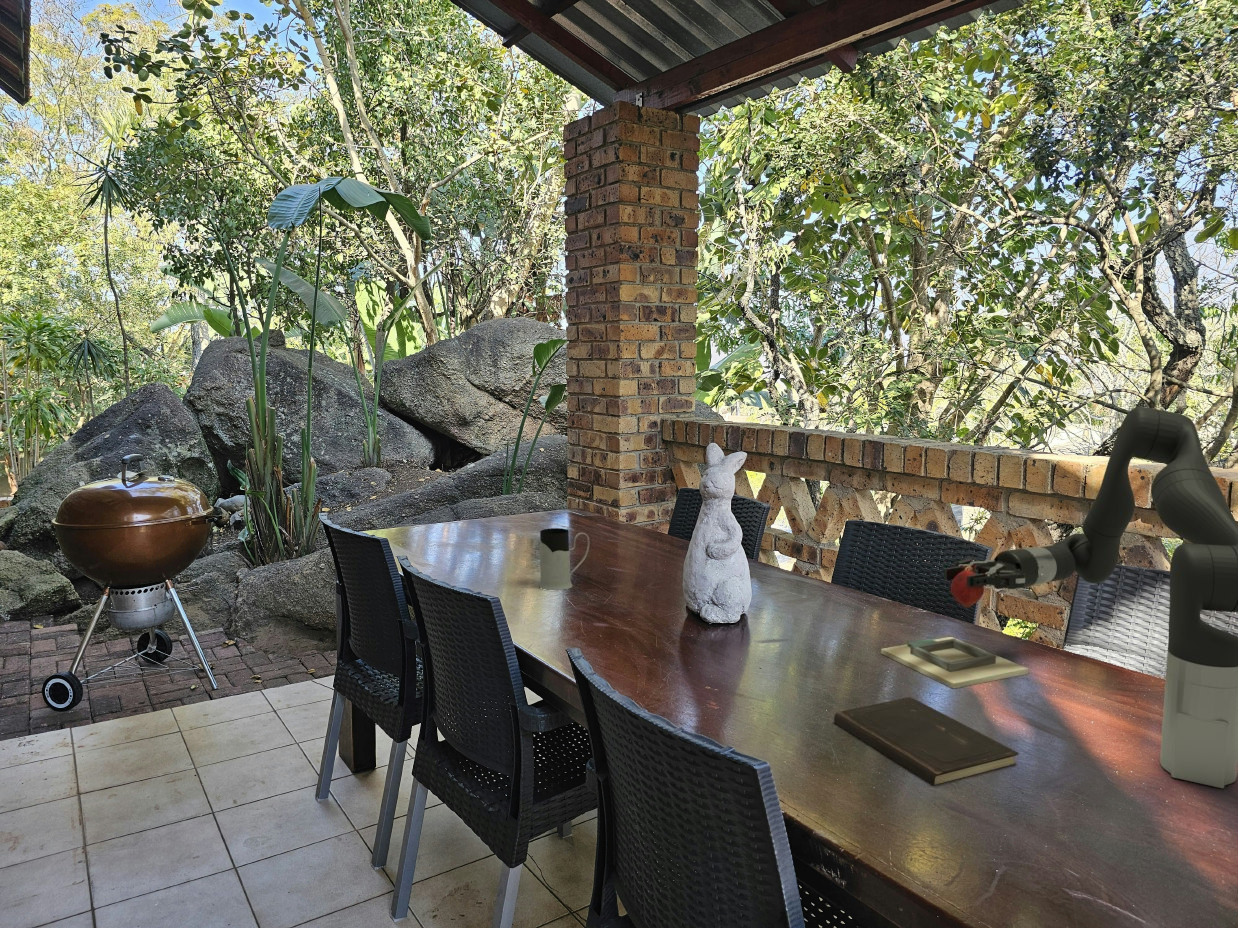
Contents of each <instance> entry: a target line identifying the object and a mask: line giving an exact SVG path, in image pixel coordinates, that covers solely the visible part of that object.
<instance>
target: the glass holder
mask: <svg viewBox="0 0 1238 928" xmlns="http://www.w3.org/2000/svg"><path fill="white" fill-rule="evenodd" d="M569 532H570V531H569V529H568V528H567V529H566V528H561V527H559V528H558V527H554V528H552V527H551V528H546V529H545V528H543V529H541V530H540V531H539V535H540V536H539V537H540V538H539V560H540V561H539V562H540V565H539V566H540V584H539V586H540V588H542V589H546V590H562V591H565V590H564V589H567V590H569V588H570V589H572V587H573V584H572V580H571V579H572V577H571V576H572V574H573V573H574V572H575V571H576V570H577V569H578V568H579V567H580V566H581V565H582V564H583V562H584V561H585V559H586V558H587V556H588V553H589V550H590V537H589V535H588V534H586V533H585V532H578V533H577V534H576V535H574V537H573V544H572V545H573V546H572V547H571V548H570V533H569ZM580 535H584V536H585V537H586V538H587V547H586V550H585V553H584V556H583V557H582V559H581V560H580V562H578V563H577V565H576V566H575V567H573V569H572V570H571V552H570V551H573V550H574V549H575V547H576V540H577V538H578V537H579V536H580ZM540 588H539V589H540ZM542 589H541V590H542ZM546 590H545V591H546Z"/></svg>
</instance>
